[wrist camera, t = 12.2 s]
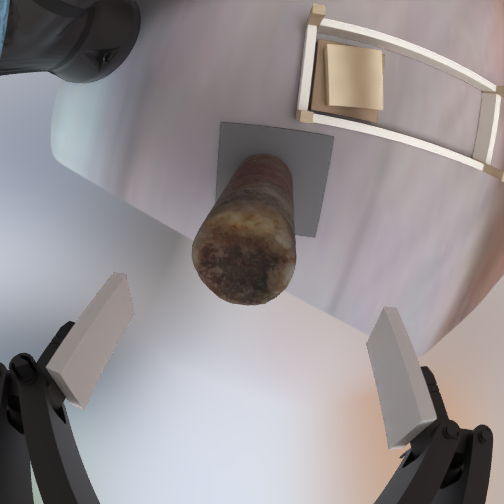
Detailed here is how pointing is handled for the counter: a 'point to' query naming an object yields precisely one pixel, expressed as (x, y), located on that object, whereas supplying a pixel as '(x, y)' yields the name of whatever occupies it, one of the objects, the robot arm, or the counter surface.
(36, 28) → the robot arm
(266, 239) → the rusty brown cylinder
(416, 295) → the counter surface
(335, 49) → the offcut upper
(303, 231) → the mat
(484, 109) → the rack
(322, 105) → the offcut lower
